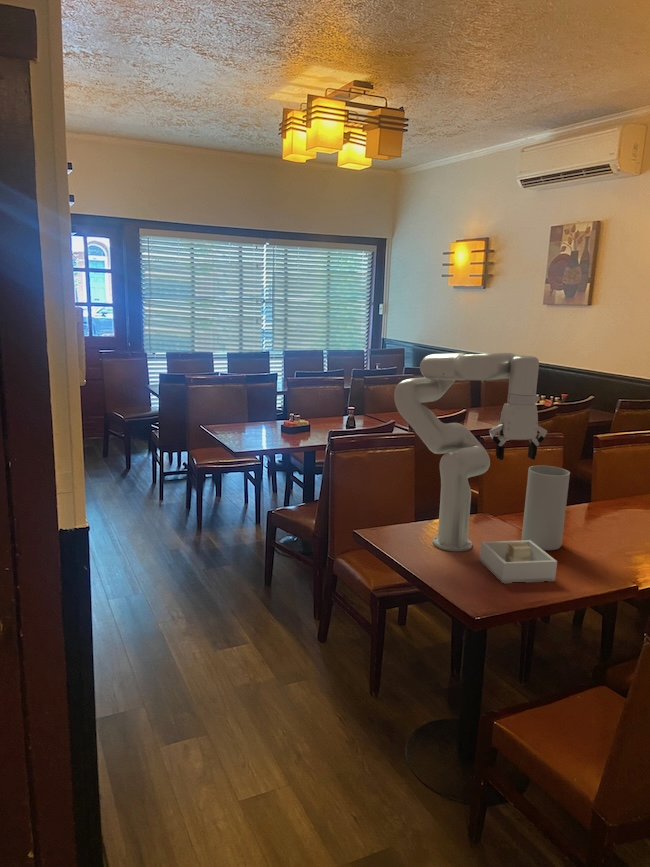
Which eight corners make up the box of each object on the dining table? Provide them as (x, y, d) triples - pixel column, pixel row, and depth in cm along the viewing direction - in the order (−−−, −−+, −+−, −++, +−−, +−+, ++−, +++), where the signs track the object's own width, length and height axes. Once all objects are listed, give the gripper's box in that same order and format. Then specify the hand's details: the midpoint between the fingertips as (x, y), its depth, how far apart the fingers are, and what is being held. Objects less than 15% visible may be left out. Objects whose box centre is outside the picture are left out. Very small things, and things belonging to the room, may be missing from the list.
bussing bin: (479, 560, 191) (481, 541, 190) (528, 558, 194) (530, 540, 193) (502, 583, 176) (504, 563, 175) (555, 581, 178) (557, 561, 177)
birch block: (504, 564, 187) (506, 541, 185) (520, 563, 187) (522, 541, 186) (512, 571, 182) (514, 548, 180) (528, 570, 183) (530, 547, 181)
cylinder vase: (514, 543, 206) (521, 469, 201) (532, 534, 215) (539, 463, 209) (550, 554, 197) (559, 478, 192) (567, 544, 206) (576, 471, 201)
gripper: (543, 398, 182) (537, 455, 185) (486, 397, 179) (482, 455, 183) (556, 402, 175) (550, 461, 178) (498, 402, 172) (492, 462, 175)
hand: (515, 458), depth 180 cm, fingers open, 9 cm apart
